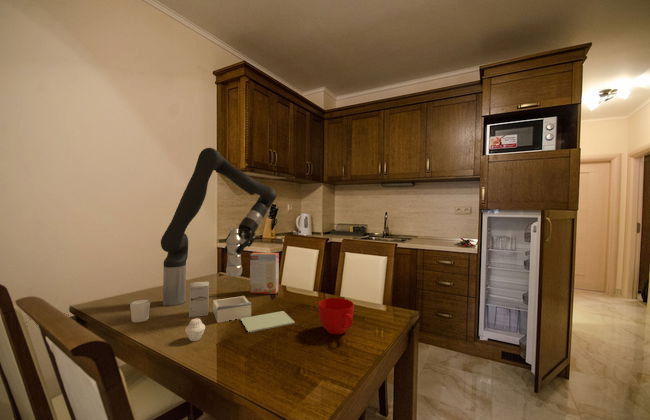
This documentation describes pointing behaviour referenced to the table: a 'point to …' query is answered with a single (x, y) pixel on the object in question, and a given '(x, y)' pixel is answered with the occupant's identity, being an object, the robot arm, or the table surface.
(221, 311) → the sleeve
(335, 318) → the ceramic cup
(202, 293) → the supplement box
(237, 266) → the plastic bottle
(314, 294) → the table surface
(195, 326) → the muffin
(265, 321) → the mat
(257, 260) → the cracker box
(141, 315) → the shot glass
